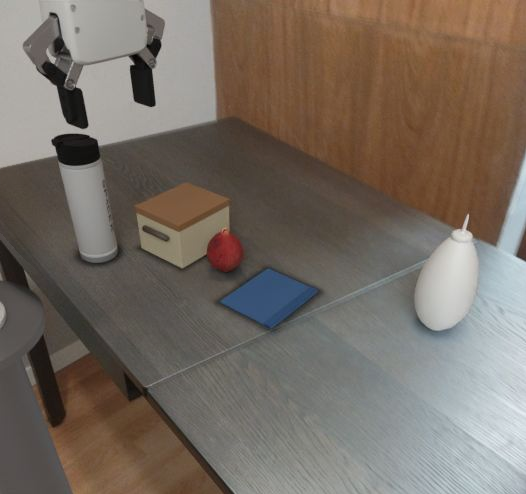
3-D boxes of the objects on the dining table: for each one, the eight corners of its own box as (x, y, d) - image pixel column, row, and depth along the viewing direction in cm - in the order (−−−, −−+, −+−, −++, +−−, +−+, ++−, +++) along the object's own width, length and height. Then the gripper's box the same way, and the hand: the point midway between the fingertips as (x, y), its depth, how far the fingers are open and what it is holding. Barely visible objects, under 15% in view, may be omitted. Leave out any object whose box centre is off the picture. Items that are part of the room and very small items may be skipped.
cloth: (271, 329, 77) (271, 326, 77) (219, 302, 82) (219, 299, 81) (317, 292, 84) (318, 289, 84) (268, 269, 89) (268, 267, 88)
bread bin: (178, 271, 88) (173, 228, 82) (136, 250, 92) (129, 207, 87) (230, 240, 96) (229, 198, 90) (189, 222, 100) (186, 181, 95)
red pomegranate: (218, 285, 85) (217, 241, 80) (201, 268, 89) (198, 224, 83) (249, 274, 88) (250, 231, 82) (231, 258, 91) (230, 215, 86)
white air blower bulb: (473, 333, 77) (515, 220, 66) (433, 349, 74) (469, 235, 63) (435, 304, 83) (468, 195, 71) (396, 319, 80) (423, 207, 68)
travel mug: (71, 254, 91) (42, 135, 78) (105, 240, 95) (82, 124, 81) (91, 268, 88) (64, 147, 74) (125, 254, 91) (105, 135, 78)
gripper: (127, -83, 56) (147, 91, 68) (-28, -78, 46) (26, 126, 57) (178, -79, 53) (190, 103, 64) (22, -72, 42) (69, 144, 54)
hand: (112, 114), depth 61 cm, fingers open, 9 cm apart
